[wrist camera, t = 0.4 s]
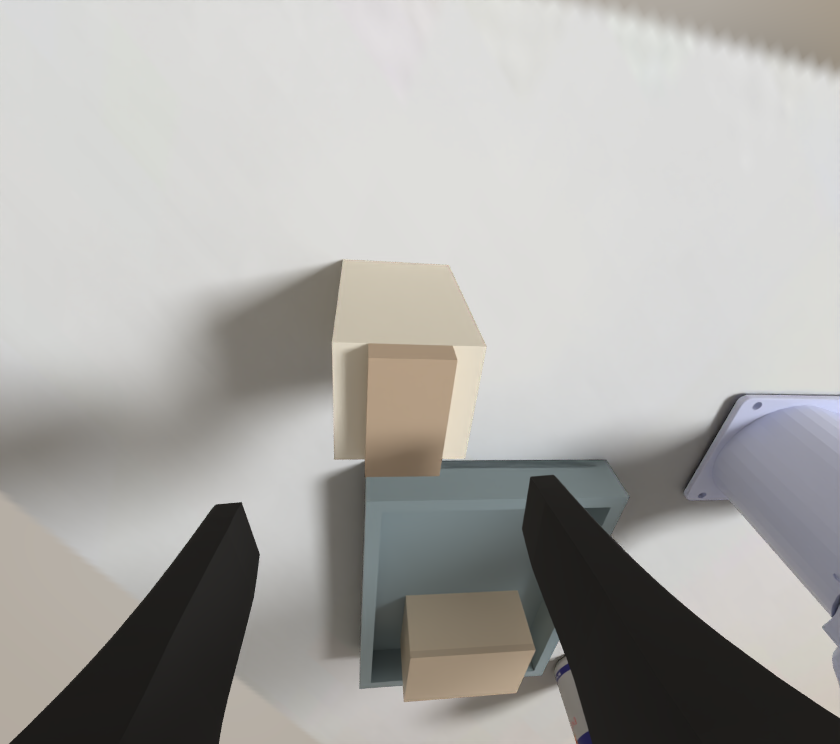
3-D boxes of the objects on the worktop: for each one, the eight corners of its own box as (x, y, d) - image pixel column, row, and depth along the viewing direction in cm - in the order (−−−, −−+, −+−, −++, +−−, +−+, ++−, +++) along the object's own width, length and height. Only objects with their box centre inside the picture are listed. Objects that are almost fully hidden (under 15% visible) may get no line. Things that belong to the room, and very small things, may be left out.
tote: (605, 459, 26) (629, 496, 24) (530, 637, 37) (541, 675, 34) (366, 461, 24) (365, 501, 22) (359, 648, 35) (359, 688, 32)
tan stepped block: (517, 590, 31) (535, 650, 28) (501, 634, 35) (516, 693, 31) (405, 595, 30) (410, 658, 27) (400, 640, 34) (403, 702, 30)
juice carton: (448, 265, 19) (493, 361, 12) (437, 354, 21) (469, 475, 14) (343, 259, 18) (329, 357, 12) (343, 352, 20) (332, 477, 14)
